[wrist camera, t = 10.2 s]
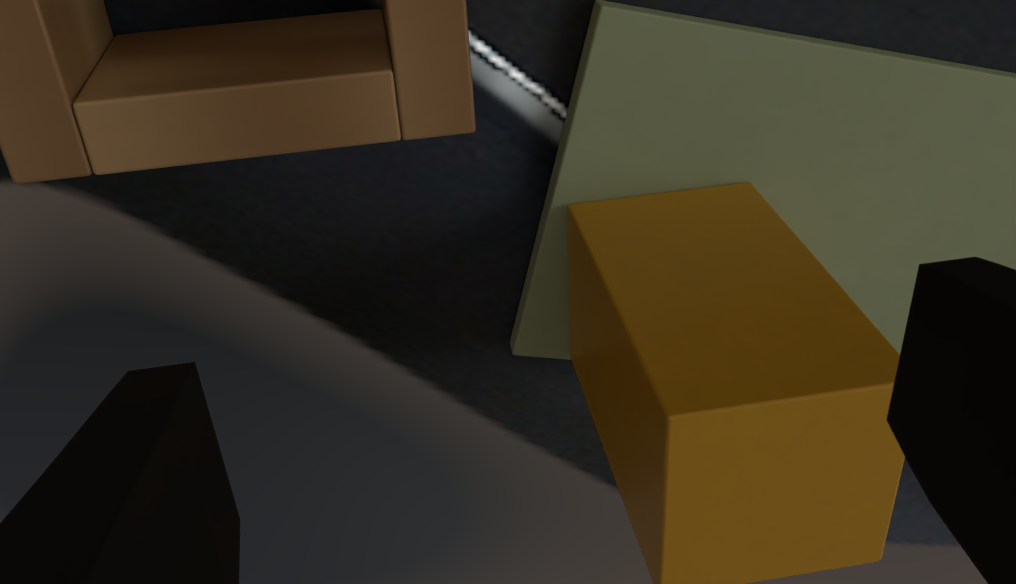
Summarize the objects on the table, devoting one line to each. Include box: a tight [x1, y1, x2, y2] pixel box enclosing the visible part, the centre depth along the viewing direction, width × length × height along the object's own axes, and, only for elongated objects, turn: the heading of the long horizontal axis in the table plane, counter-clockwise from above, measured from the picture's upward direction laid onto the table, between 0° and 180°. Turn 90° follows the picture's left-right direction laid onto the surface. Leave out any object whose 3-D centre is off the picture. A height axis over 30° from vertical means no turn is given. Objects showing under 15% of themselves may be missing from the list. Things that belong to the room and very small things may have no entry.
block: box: [567, 182, 905, 584], centre depth 18 cm, size 4×4×7 cm
